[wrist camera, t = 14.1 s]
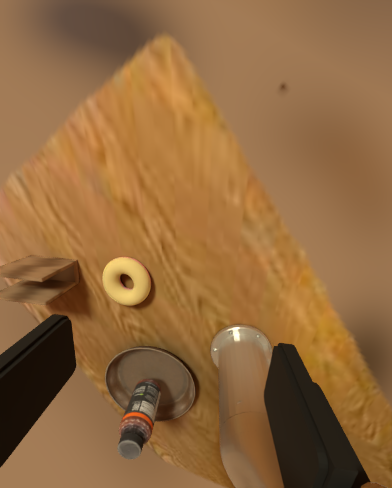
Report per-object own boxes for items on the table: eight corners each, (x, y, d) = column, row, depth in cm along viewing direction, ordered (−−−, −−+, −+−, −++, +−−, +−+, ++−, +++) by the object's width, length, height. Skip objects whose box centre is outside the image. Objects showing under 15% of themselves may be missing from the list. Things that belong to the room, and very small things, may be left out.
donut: (123, 295, 44) (160, 292, 42) (111, 310, 40) (151, 308, 37) (104, 256, 40) (143, 250, 38) (88, 269, 36) (132, 263, 34)
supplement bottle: (147, 403, 45) (126, 469, 33) (130, 385, 44) (103, 446, 33) (167, 391, 44) (153, 455, 32) (150, 372, 43) (129, 431, 32)
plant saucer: (94, 365, 48) (85, 377, 45) (155, 322, 43) (150, 332, 40) (151, 418, 51) (147, 433, 48) (214, 384, 46) (214, 398, 43)
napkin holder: (77, 260, 40) (41, 278, 32) (79, 282, 42) (45, 305, 33) (31, 255, 41) (-16, 271, 33) (34, 277, 42) (-9, 298, 34)
